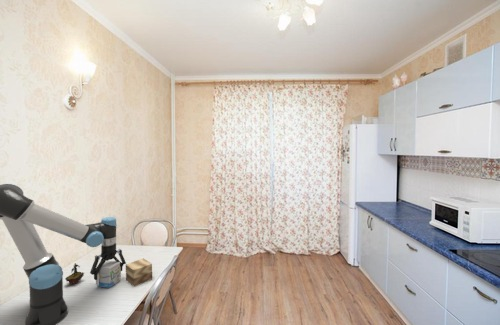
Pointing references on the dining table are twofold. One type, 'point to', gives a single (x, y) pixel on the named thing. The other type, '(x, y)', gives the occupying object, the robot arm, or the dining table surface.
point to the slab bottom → (139, 279)
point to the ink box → (109, 274)
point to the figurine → (74, 275)
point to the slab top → (138, 268)
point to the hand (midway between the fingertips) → (108, 280)
